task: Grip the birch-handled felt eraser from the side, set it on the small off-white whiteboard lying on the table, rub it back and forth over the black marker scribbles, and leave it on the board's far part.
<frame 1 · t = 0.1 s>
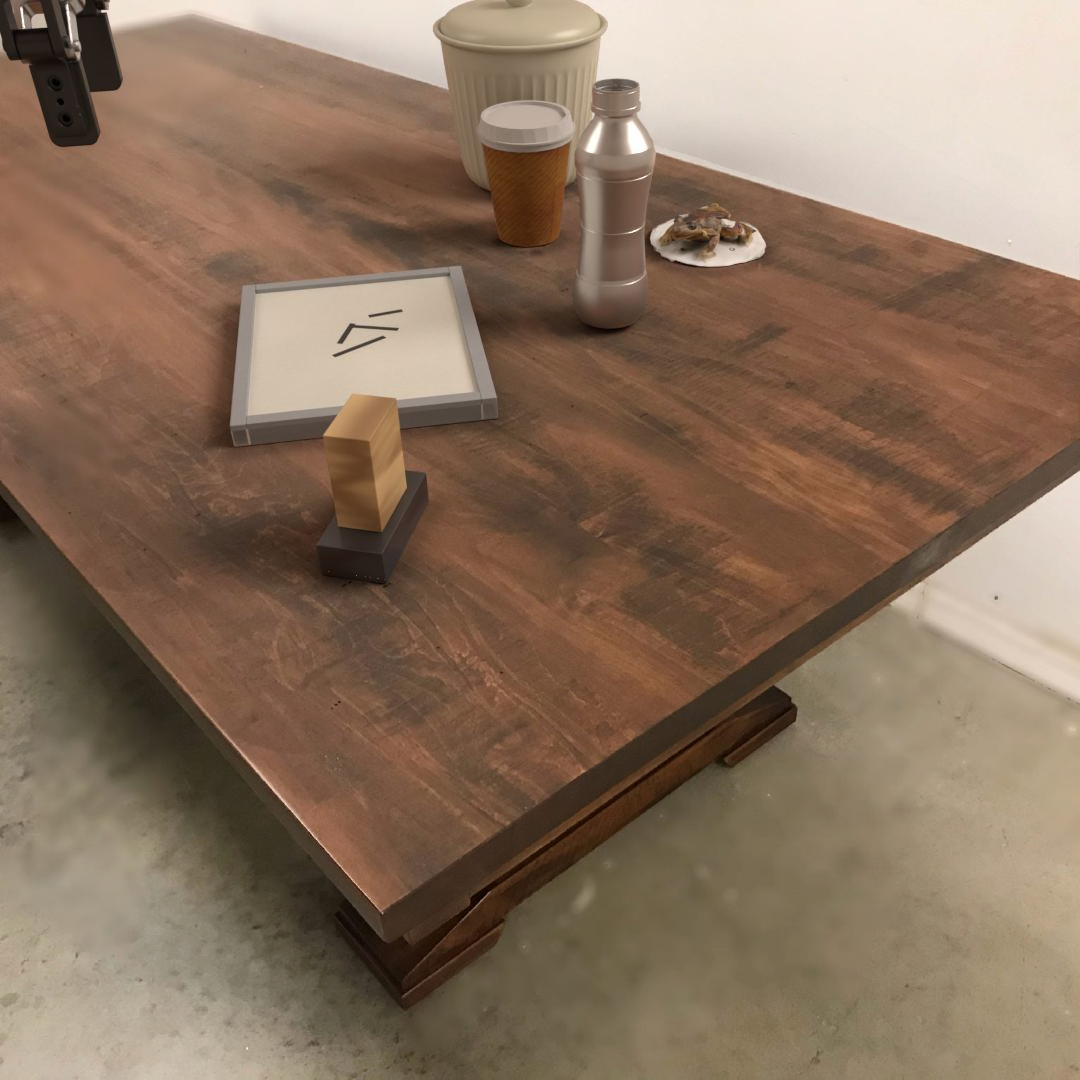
hand: (91, 115, 56), 28 cm above the table, tool pointing down, fingers open, 8 cm apart
canister: (524, 181, 124), on the table
frog figurine: (706, 245, 110), on the table
disposable coffee cup: (528, 236, 112), on the table
whiteboard: (361, 356, 93), on the table
eraser: (377, 536, 74), on the table
silver bottle: (610, 322, 97), on the table
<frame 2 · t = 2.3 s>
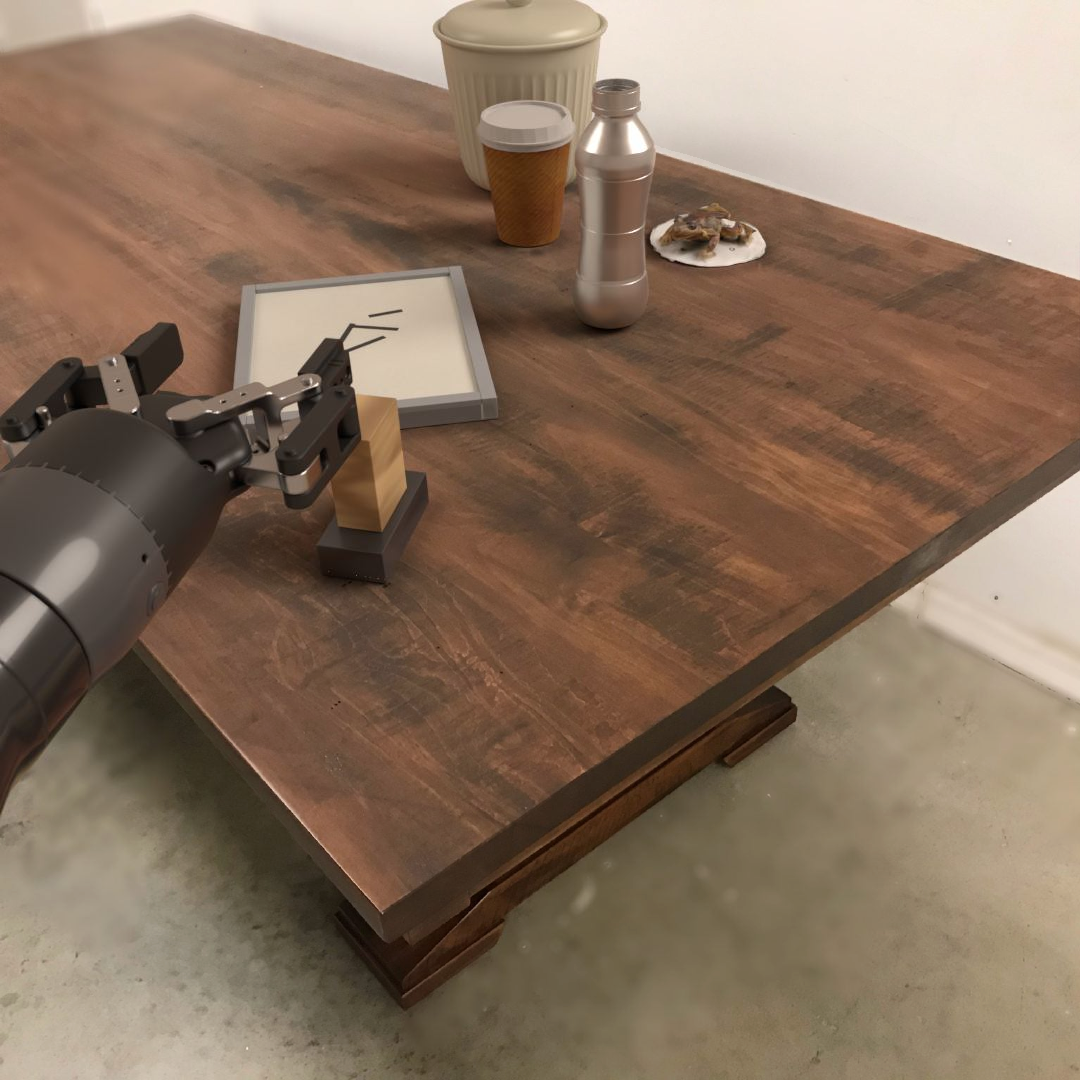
hand: (254, 347, 53), 20 cm above the table, tool horizontal, fingers open, 8 cm apart
nothing on the table moved.
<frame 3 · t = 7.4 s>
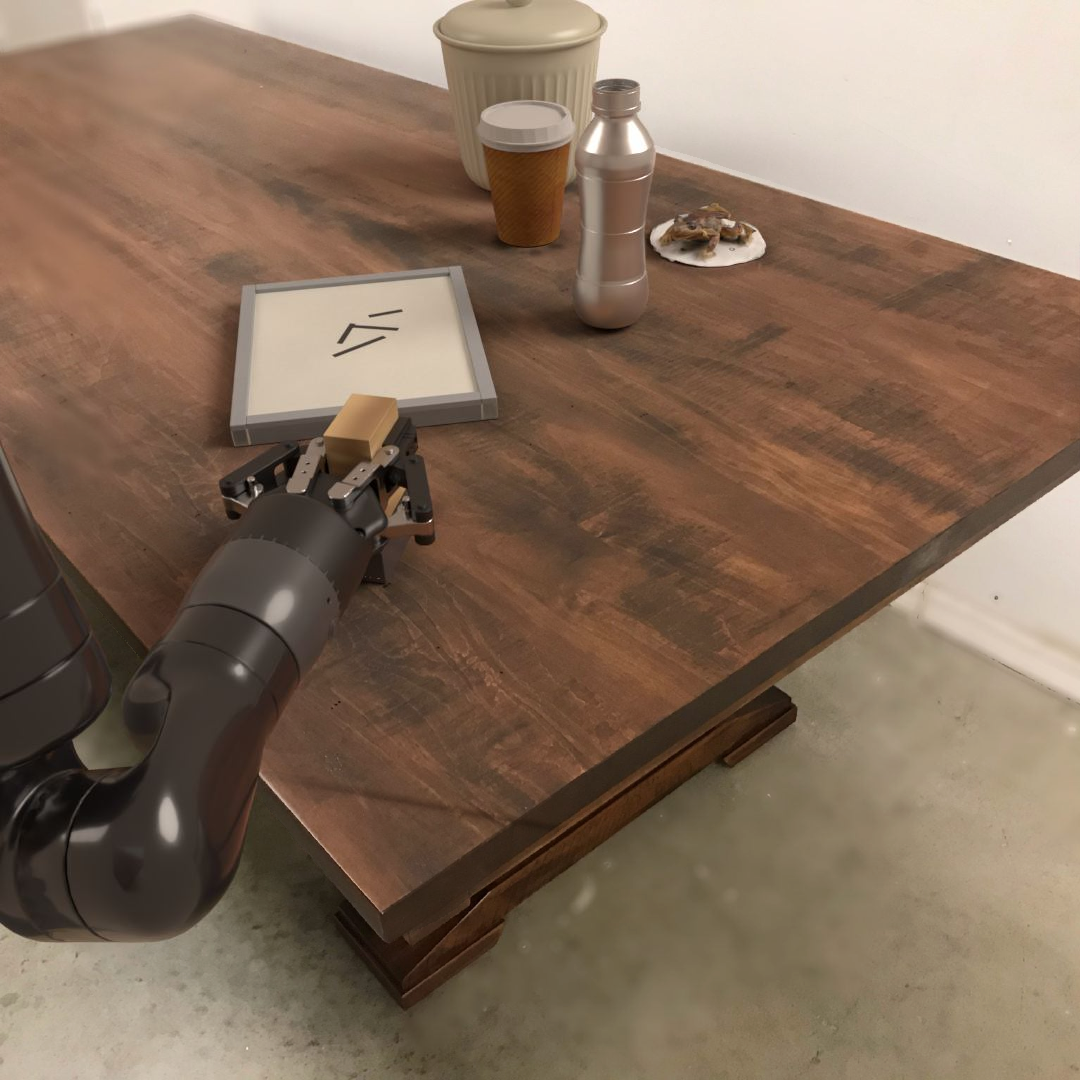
hand: (380, 425, 71), 7 cm above the table, tool horizontal, fingers closed on eraser, 3 cm apart
eraser: (377, 536, 74), on the table, touching gripper
everything else where it was.
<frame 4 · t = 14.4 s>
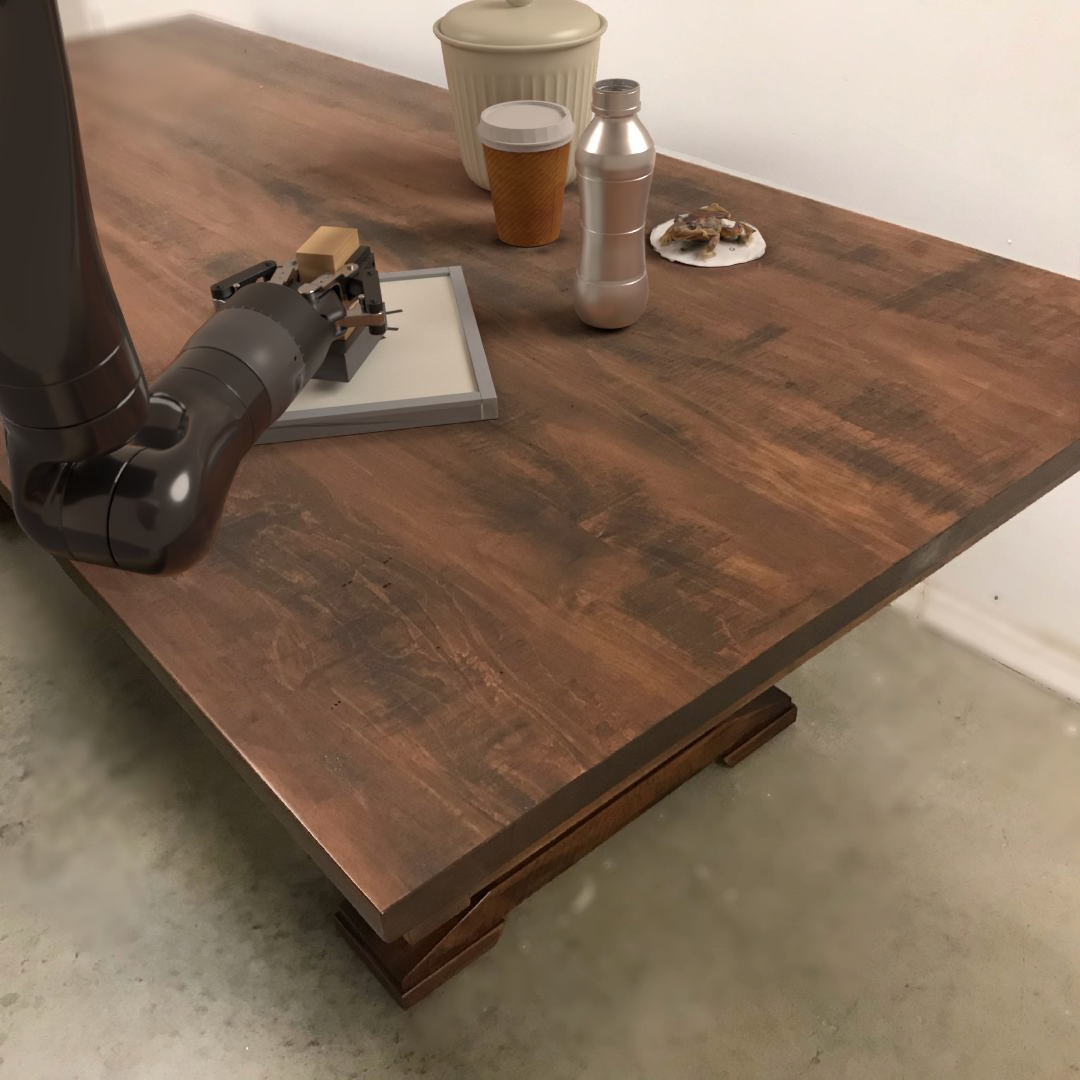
hand: (344, 255, 86), 9 cm above the table, tool horizontal, fingers closed on eraser, 3 cm apart
eraser: (343, 352, 88), point 3 cm above the table, touching gripper
everything else where it was.
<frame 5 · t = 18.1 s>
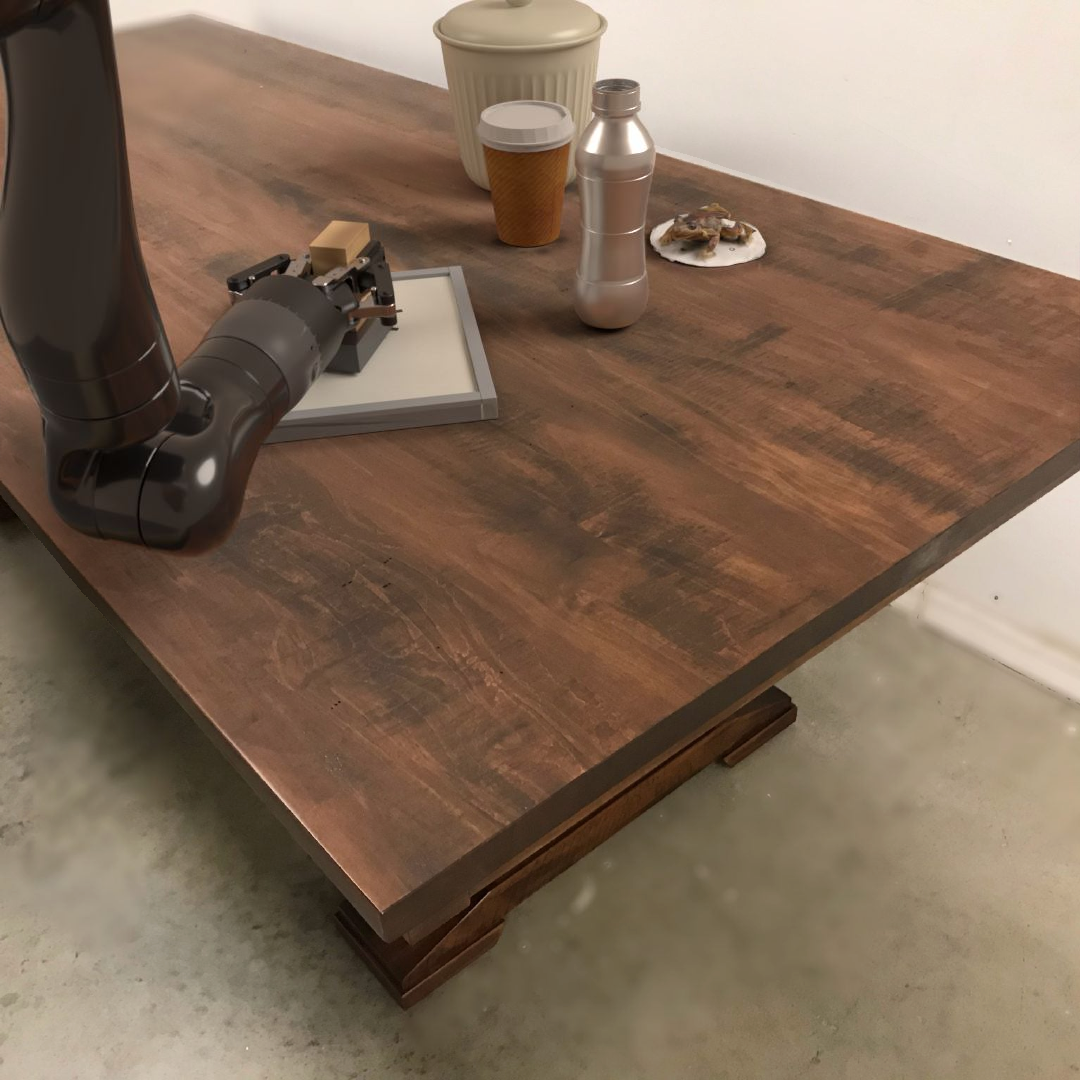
hand: (355, 249, 89), 9 cm above the table, tool horizontal, fingers closed on eraser, 3 cm apart
eraser: (354, 343, 91), point 2 cm above the table, touching gripper
everything else where it was.
when the fingers open (9 cm above the table, at t = 21.2 s): eraser stays where it is, resting on whiteboard.
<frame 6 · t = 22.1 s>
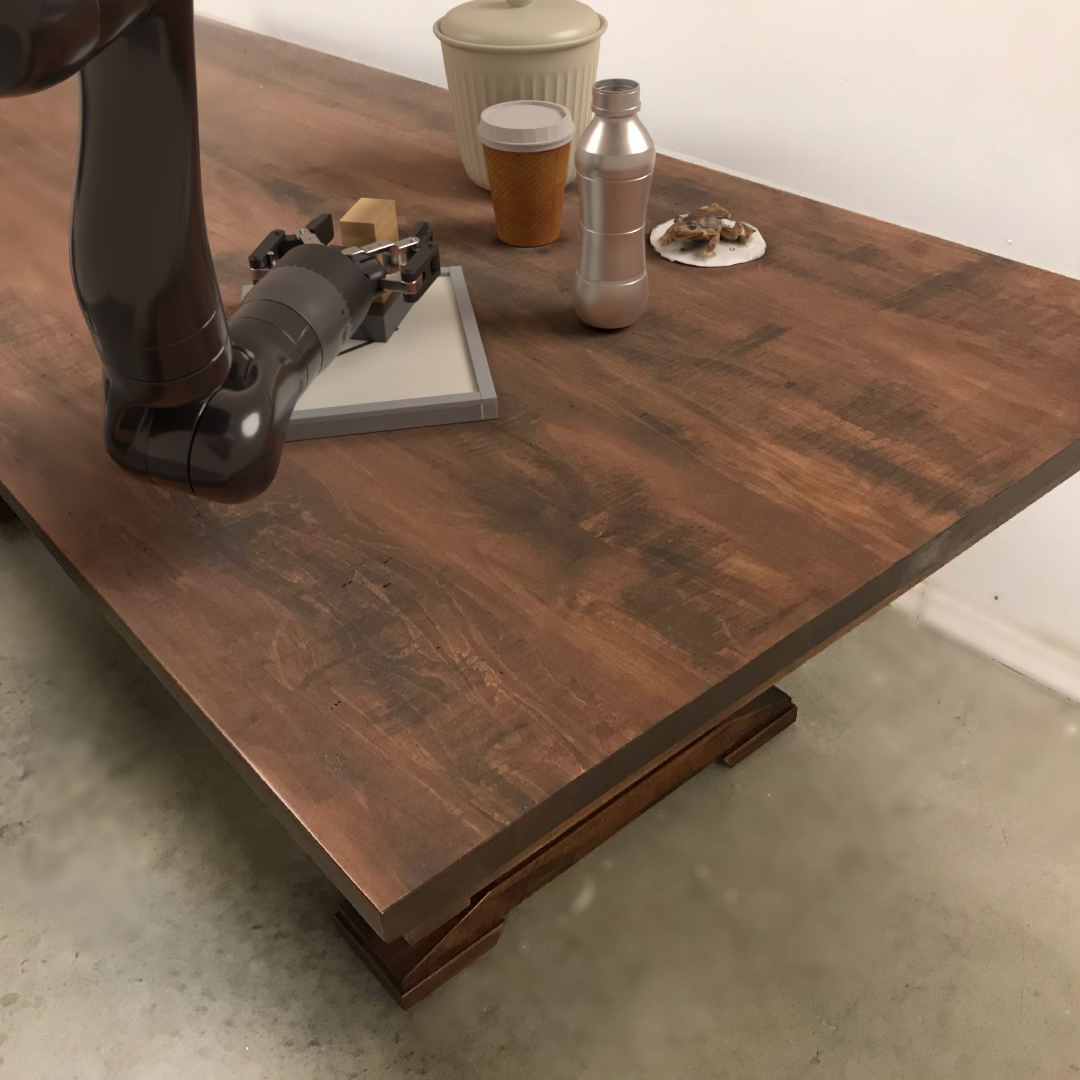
hand: (376, 227, 92), 9 cm above the table, tool horizontal, fingers open, 8 cm apart
eraser: (380, 315, 95), point 2 cm above the table, touching whiteboard
everything else where it was.
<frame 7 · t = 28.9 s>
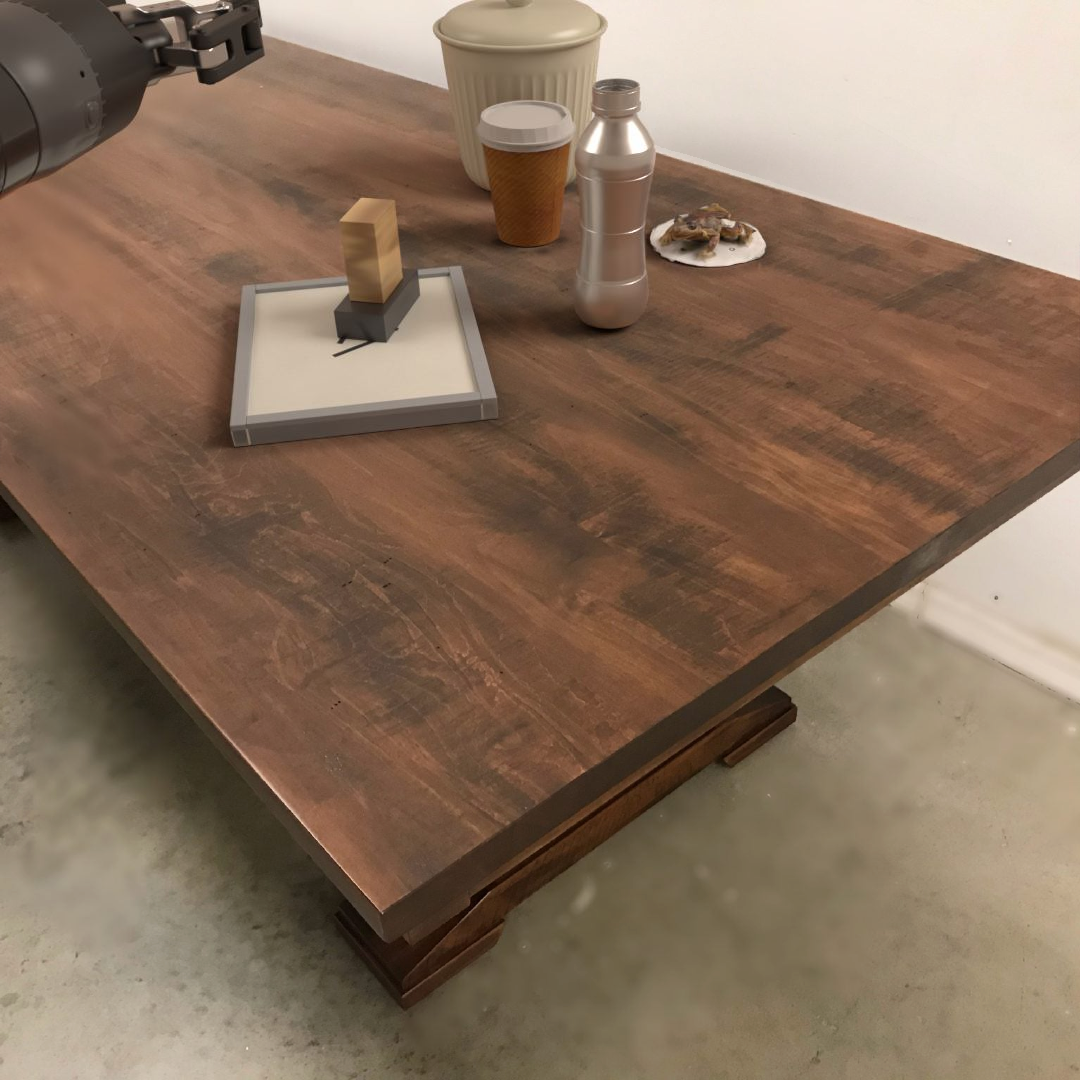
hand: (185, 6, 65), 30 cm above the table, tool horizontal, fingers open, 8 cm apart
nothing on the table moved.
at the end: eraser 0.4 cm from the target spot on the whiteboard, point 1.5 cm above the whiteboard's base; eraser tilted 0°; the gripper is holding nothing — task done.
